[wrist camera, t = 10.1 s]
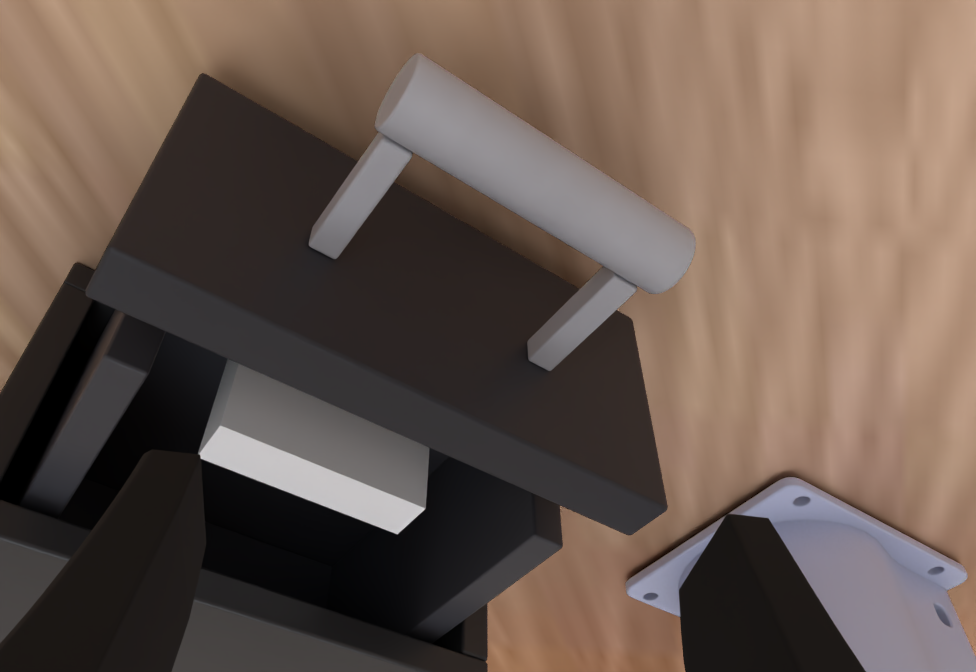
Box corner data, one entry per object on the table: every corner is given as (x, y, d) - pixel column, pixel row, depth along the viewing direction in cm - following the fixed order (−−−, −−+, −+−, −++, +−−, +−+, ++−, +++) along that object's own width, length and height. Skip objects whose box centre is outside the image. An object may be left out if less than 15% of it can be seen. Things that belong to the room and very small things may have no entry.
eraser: (255, 304, 20) (219, 426, 17) (434, 387, 22) (427, 509, 19) (233, 336, 20) (195, 459, 18) (408, 414, 22) (398, 535, 20)
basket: (296, -115, 15) (219, 24, 10) (756, 206, 19) (834, 395, 15) (16, 434, 24) (-84, 623, 20) (364, 562, 29) (343, 737, 25)
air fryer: (75, 261, 21) (-70, 515, 16) (488, 449, 26) (488, 693, 21) (-58, 536, 29) (-184, 768, 24) (278, 640, 34) (237, 852, 29)
